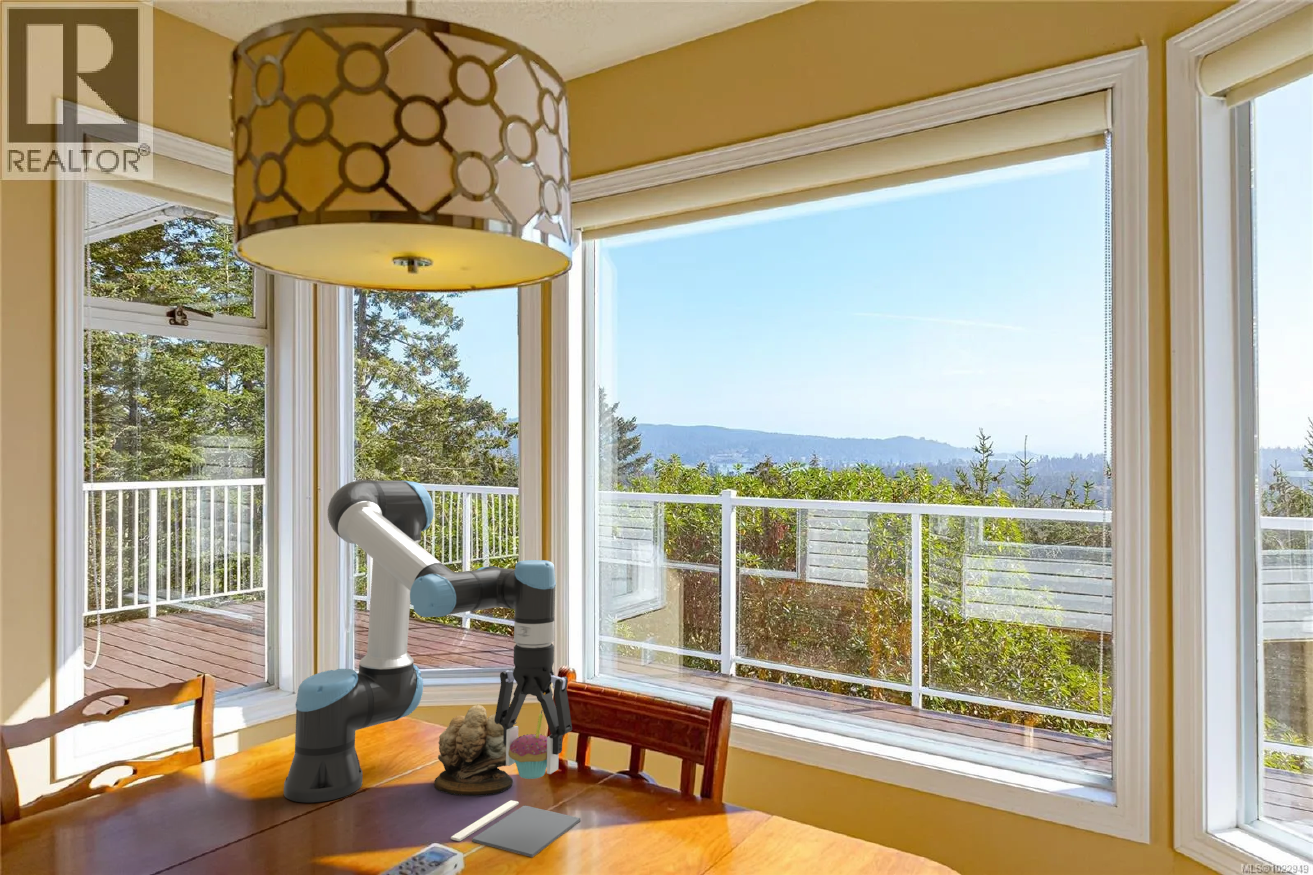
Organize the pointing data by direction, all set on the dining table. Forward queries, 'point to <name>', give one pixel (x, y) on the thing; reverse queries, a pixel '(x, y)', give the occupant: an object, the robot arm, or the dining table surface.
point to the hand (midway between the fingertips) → (531, 767)
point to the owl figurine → (473, 756)
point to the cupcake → (530, 753)
